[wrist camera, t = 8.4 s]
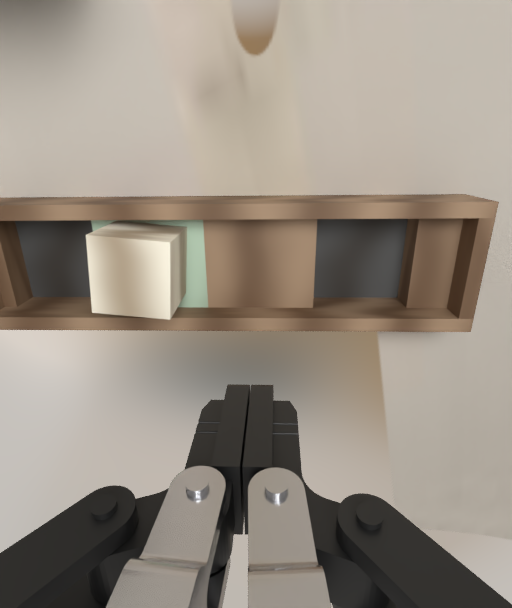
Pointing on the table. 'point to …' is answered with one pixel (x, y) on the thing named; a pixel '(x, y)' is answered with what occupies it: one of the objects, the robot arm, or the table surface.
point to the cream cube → (137, 269)
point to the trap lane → (260, 261)
